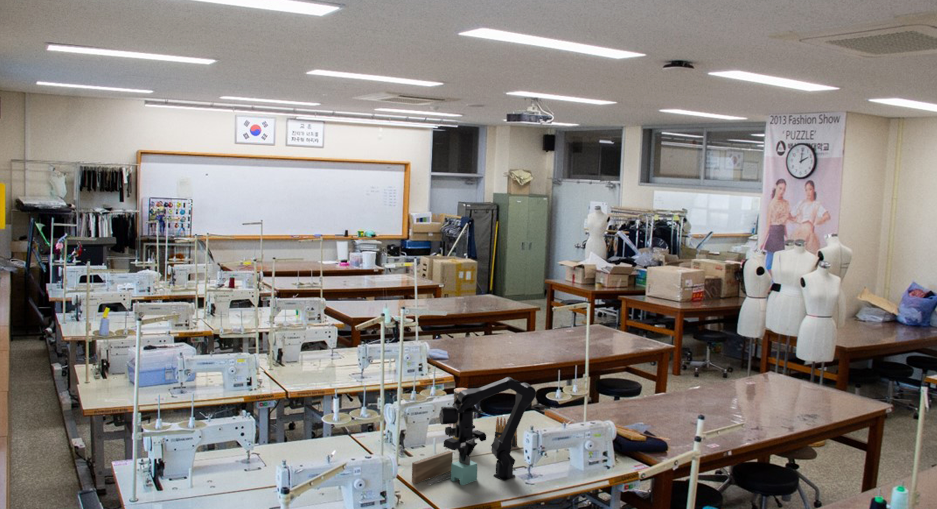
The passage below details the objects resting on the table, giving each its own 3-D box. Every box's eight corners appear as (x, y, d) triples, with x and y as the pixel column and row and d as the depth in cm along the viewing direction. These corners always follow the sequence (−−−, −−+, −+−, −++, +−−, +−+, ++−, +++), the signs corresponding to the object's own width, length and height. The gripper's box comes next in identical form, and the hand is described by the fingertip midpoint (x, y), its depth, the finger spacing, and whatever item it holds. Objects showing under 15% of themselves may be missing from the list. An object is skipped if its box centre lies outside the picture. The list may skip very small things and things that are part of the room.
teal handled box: (476, 480, 316) (477, 454, 315) (462, 485, 311) (463, 459, 309) (465, 475, 321) (466, 450, 320) (450, 480, 315) (451, 454, 314)
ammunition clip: (494, 442, 360) (495, 416, 358) (496, 441, 361) (496, 415, 360) (515, 447, 354) (516, 421, 353) (517, 445, 356) (518, 419, 355)
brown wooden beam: (459, 474, 322) (460, 455, 321) (422, 487, 308) (423, 467, 307) (448, 469, 326) (449, 450, 325) (411, 482, 312) (412, 462, 311)
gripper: (468, 412, 325) (467, 449, 327) (434, 422, 312) (433, 460, 314) (487, 419, 317) (486, 457, 319) (454, 429, 304) (452, 468, 306)
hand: (464, 460), depth 315 cm, fingers closed on teal handled box
